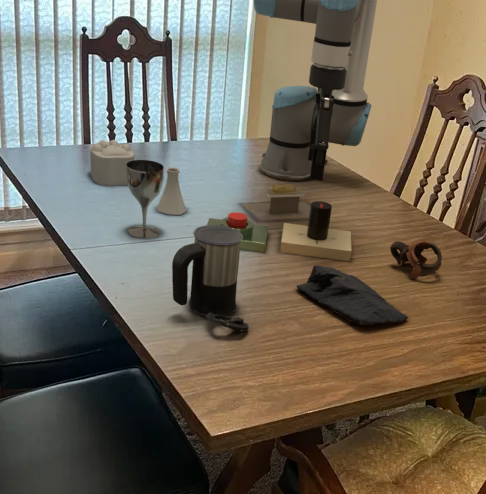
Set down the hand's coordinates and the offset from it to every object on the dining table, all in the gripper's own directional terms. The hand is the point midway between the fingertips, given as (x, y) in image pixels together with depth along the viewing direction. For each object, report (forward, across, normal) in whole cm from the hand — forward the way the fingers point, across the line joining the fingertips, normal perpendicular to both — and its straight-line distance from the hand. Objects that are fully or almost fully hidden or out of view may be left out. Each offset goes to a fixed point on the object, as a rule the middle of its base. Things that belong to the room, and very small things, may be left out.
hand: (314, 169), depth 169 cm
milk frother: (+18, -39, +17) cm, 46 cm away
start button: (+14, -1, +16) cm, 21 cm away
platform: (+18, +21, +5) cm, 28 cm away
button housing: (+18, -1, +16) cm, 24 cm away
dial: (+15, 0, -3) cm, 15 cm away
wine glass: (+18, -2, +37) cm, 41 cm away
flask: (+18, +13, +32) cm, 39 cm away
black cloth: (+18, -28, -9) cm, 35 cm away
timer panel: (+18, 0, -3) cm, 18 cm away
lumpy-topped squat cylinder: (+18, +32, +50) cm, 62 cm away
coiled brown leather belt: (+18, -8, -24) cm, 31 cm away
